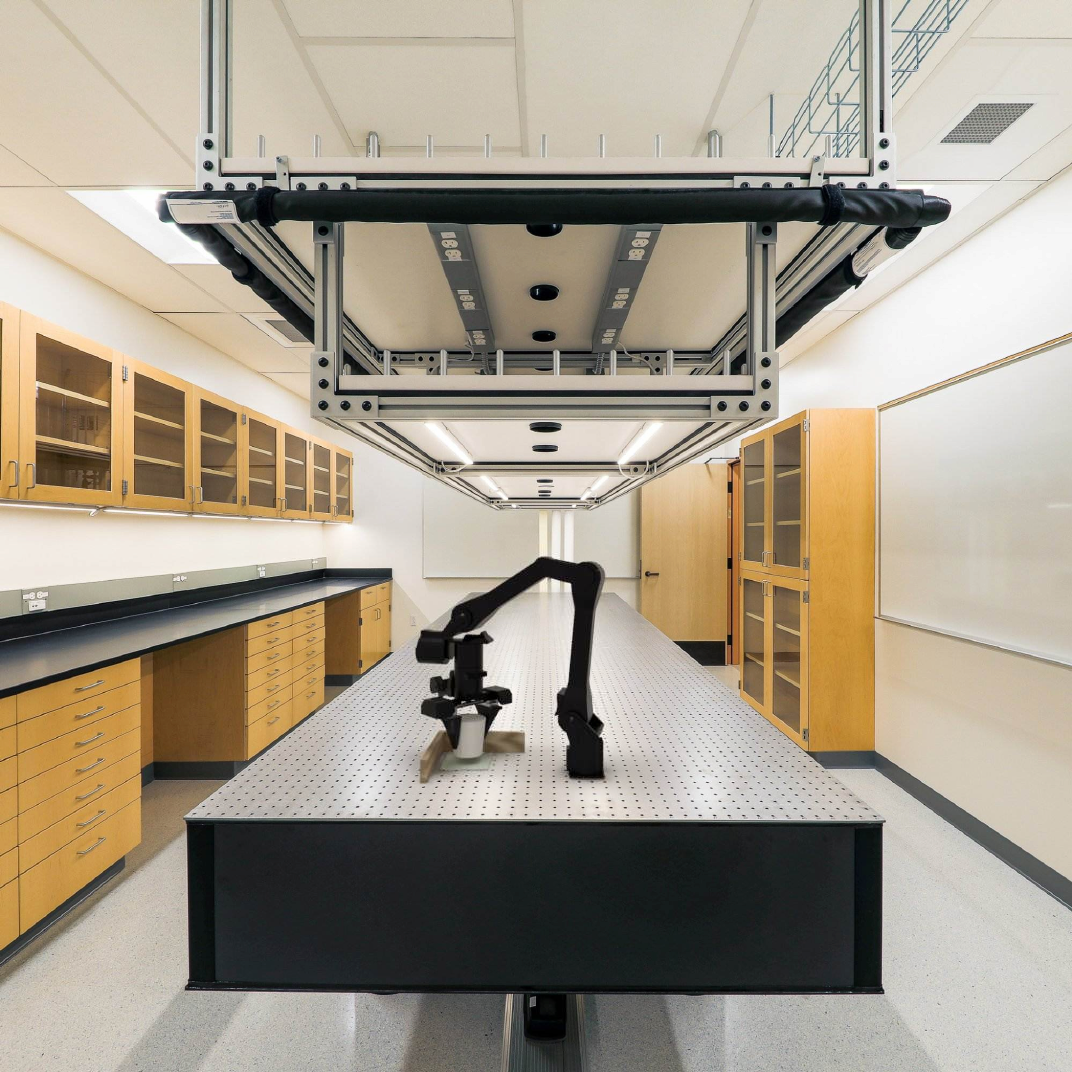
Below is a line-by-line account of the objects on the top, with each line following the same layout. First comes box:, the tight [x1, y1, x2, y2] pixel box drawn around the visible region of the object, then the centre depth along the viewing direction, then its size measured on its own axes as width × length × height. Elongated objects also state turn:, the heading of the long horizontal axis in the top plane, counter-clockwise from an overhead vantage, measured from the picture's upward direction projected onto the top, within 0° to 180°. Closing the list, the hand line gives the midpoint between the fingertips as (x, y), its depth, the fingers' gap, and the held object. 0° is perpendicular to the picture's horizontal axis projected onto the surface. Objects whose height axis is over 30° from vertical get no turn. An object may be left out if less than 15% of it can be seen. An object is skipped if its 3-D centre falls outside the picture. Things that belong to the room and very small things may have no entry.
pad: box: [440, 752, 494, 772], centre depth 117 cm, size 9×9×1 cm
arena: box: [419, 729, 526, 784], centre depth 115 cm, size 18×18×4 cm
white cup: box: [452, 713, 486, 758], centre depth 117 cm, size 7×7×7 cm
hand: (468, 745), depth 117 cm, fingers closed on white cup, 6 cm apart
